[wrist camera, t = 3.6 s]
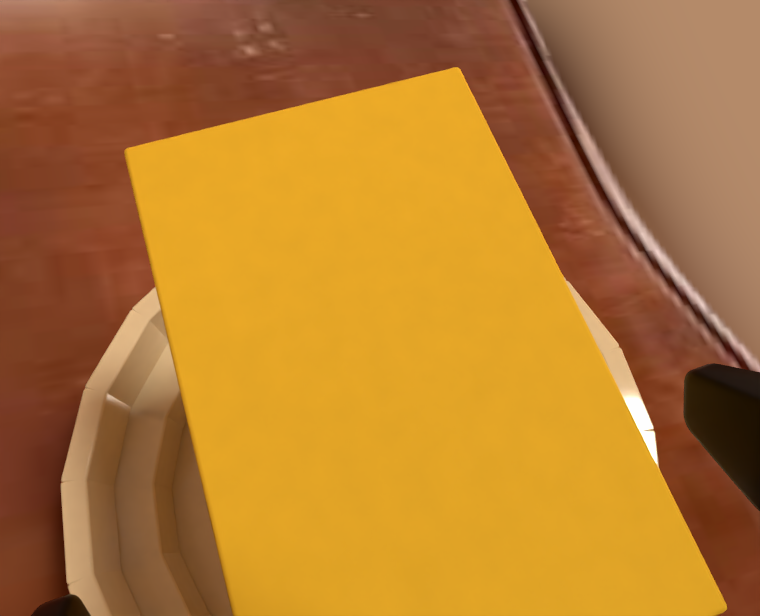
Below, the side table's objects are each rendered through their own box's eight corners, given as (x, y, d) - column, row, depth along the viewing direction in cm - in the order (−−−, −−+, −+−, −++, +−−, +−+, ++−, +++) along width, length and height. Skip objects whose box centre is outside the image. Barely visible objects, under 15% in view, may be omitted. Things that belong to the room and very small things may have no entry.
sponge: (480, 565, 17) (732, 610, 6) (328, 625, 16) (277, 810, 5) (396, 341, 19) (459, 63, 8) (260, 385, 18) (121, 147, 7)
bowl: (682, 444, 19) (764, 419, 15) (399, 899, 14) (416, 1024, 11) (342, 188, 22) (340, 115, 18) (19, 504, 17) (-71, 493, 14)
